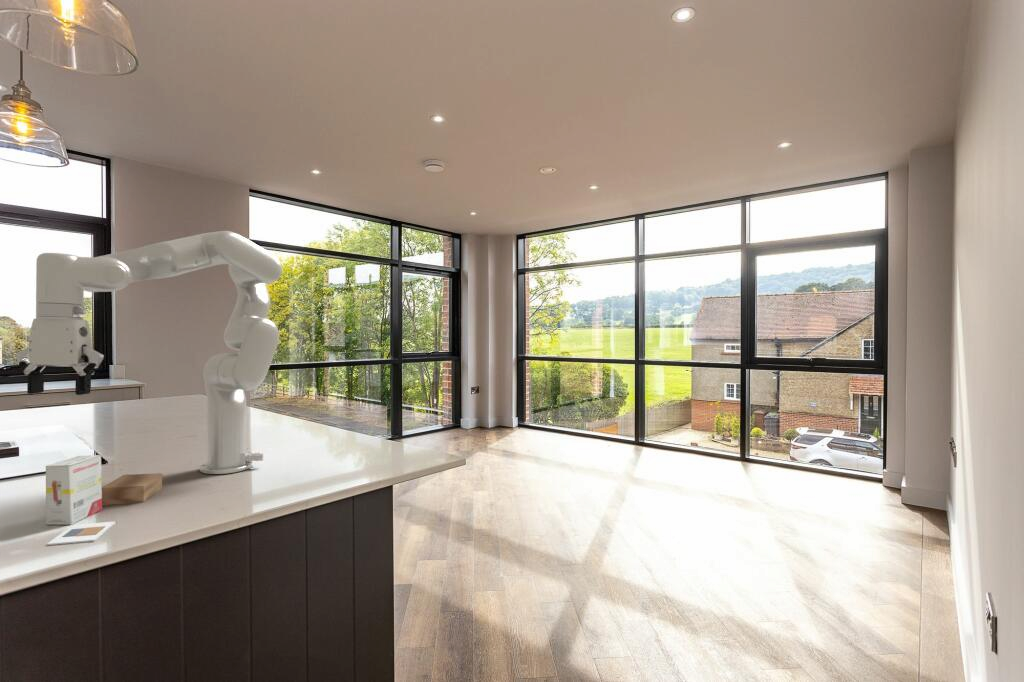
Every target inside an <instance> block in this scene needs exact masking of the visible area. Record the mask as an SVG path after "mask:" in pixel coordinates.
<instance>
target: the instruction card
mask: <svg viewBox="0 0 1024 682" xmlns="http://www.w3.org/2000/svg"><path fill="white" fill-rule="evenodd" d="M116 523H117V521H116V520H115V521H105V522H104V521H103V522H93V523H79V524H72V525H70V526H69V527H68V528H67V529H66V530H64V531H62V532H61V533H60V534H57V536H55V537H54V538H53V539H51V540H50V541H49V542H47V544H46V546H57V545H66V544H77V543H78V544H79V543H90V542H95V541H96V540H98V539H99V538H100V537H102V535H104V534H105V533H106V532H107V531H109V529H110V528H111V527H113V526H114V525H115V524H116Z"/></svg>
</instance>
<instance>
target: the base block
mask: <svg viewBox="0 0 1024 682" xmlns="http://www.w3.org/2000/svg"><path fill="white" fill-rule="evenodd" d="M162 489H163V473H162V472H160V473H159V472H158V473H140V474H139V473H138V474H137V473H135V474H123V475H121V476H119V477H117V478H116V479H114V480H112V481H111V482H109V483H107V484H105V485H104V486H102V506H103V504H104V506H105V505H121V504H136V503H137V504H139V503H141V504H142V503H145V502H146V501H147V500H149V499H150V498H151V497H152V496H155V494H157V493H158V492H159V491H161V490H162Z"/></svg>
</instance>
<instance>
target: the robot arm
mask: <svg viewBox="0 0 1024 682" xmlns="http://www.w3.org/2000/svg"><path fill="white" fill-rule="evenodd" d="M35 265H36V269H35V270H36V273H35V275H36V276H35V279H36V281H35V284H36V285H35V286H36V287H35V318H33V320H32V323H31V327H30V332H29V339H28V346H27V347H25V348H23V349H22V350H20V351H18V352H15V353H14V357H15V359H16V361H17V363H18V366H19V368H21V370H22V371H23V373H24V375H26V376H27V382H26V383H27V389H26V391H27V394H28V395H33V394H40V393H43V392H44V391H45V385H44V383H45V375H44V373H42V371H44V369H45V368H46V367H60V368H61V367H68V368H69V367H72V368H73V369H74V370H75V371H76V373H77V374H78V375H76V376H75V385H74V386H75V388H74V389H75V395H77V396H81V395H89V394H90V393H91V389H92V375H95V372H96V371H97V370H98V369H99V368H100V366H101V364H102V362H103V360H104V358H105V355H104V354H103V353H100V352H99V351H96V350H94V349H93V340H92V333H91V329H90V326H89V321H88V319H84V315H87V314H88V313H89V309H88V308H86V307H84V300H85V299H84V297H85V296H84V295H85V293H84V291H85V292H88V293H100V292H101V293H103V292H104V293H106V292H107V293H109V292H117V291H120V290H123V289H124V288H126V287H128V286H129V284H130V283H135V282H140V281H147V280H157V279H165V278H172V277H177V276H181V275H183V274H188V273H192V272H194V271H199V270H203V269H207V268H210V267H214V266H218V265H228V275H229V276H230V278H231V280H232V281H233V283H234V285H235V288H236V290H237V299H236V303H235V306H234V308H233V311H232V313H231V315H230V317H229V320H228V323H227V326H226V327H225V330H224V333H223V342H224V343H225V345H226V346H227V347H228V348H229V349H232V350H234V351H238V353H230V352H229V353H225V352H223V353H217V354H215V355H213V356H211V357H209V359H208V360H207V361H206V363H205V364H204V366H203V371H202V373H203V375H202V377H203V381H204V388H205V392H206V394H205V395H206V459H205V460H206V461H205V462H204V463H202V464H201V465H200V466H199V472H201V473H203V474H208V475H223V474H233V473H238V472H242V471H246V470H248V469H251V467H252V466H253V462H258V461H259V462H262V461H264V453H260V452H254V453H253V452H249V451H250V449H249V448H247V407H248V406H247V397H246V393H245V391H247V392H248V391H253V390H256V389H257V388H259V387H260V386H261V384H262V383H263V382H264V381H265V380H266V377H267V374H268V372H269V370H270V367H271V366H272V365H271V364H272V362H273V359H274V356H275V355H276V351H277V348H278V347H279V342H280V332H279V329H278V326H277V325H276V323H274V322H273V321H272V320H270V319H269V318H268V314H269V311H270V308H271V297H270V296H271V295H270V293H269V291H268V287H267V285H270V284H273V283H275V282H277V281H278V280H279V279H280V278H281V276H282V274H283V266H282V263H281V260H280V259H279V258H278V257H277V256H276V255H275V254H273V253H272V252H270V251H269V250H268V249H265V248H263V247H262V246H260V245H258V244H256V243H255V242H253V241H252V240H250V239H248V238H246V237H244V236H242V235H241V234H239V233H236V232H234V231H232V230H221V231H220V230H219V231H212V232H206V233H199V234H195V235H190V236H186V237H181V238H180V237H179V238H176V239H171V240H165V241H161V242H155V243H152V244H147V245H144V246H141V247H137V248H132V249H128V250H124V251H120V252H119V251H118V252H114V253H109V254H105V255H99V256H95V257H89V256H78V255H73V254H69V253H59V252H43V253H40V254H38V255H37V258H36V264H35Z"/></svg>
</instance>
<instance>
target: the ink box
mask: <svg viewBox="0 0 1024 682" xmlns="http://www.w3.org/2000/svg"><path fill="white" fill-rule="evenodd" d="M102 484H103V483H102V456H101V455H99V454H95V455H93V454H92V455H91V454H90V455H77V456H74V457H70V458H67V459H65V460H62V461H59V462H58V461H57V462H54V463H51V464H48V465H45V524H46V525H48V526H49V525H51V526H52V525H53V526H54V525H55V526H56V525H58V526H60V525H61V526H64V525H65V526H67V525H69V526H72V525H75V524H76V523H77V522H80V521H82V520H83V519H85V518H88V517H89V516H92V515H94V514H95V513H98V512H100V511H101V510H103V505H102V487H103V486H102Z"/></svg>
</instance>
